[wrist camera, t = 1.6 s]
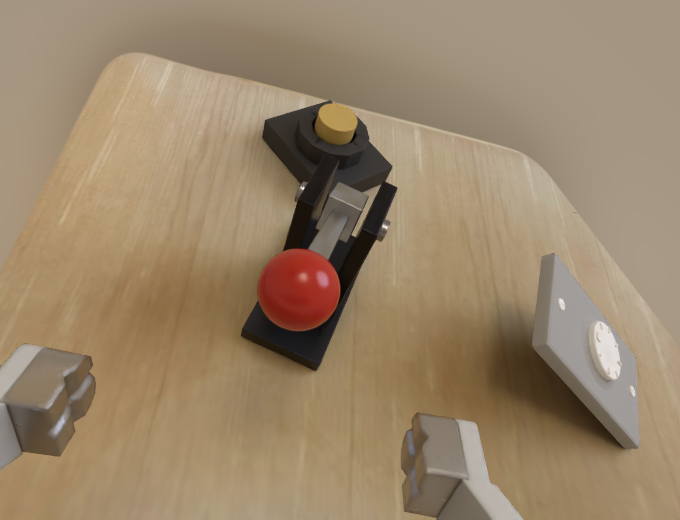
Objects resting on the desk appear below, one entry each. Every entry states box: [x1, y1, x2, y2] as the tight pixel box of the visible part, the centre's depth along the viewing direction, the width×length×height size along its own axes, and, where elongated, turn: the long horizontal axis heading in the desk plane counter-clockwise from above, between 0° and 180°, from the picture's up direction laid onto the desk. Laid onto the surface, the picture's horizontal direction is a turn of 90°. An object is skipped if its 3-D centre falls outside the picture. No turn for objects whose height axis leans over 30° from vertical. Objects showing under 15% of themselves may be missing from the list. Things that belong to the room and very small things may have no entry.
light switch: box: [532, 253, 639, 449], centre depth 37 cm, size 8×6×14 cm
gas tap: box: [241, 154, 397, 371], centre depth 32 cm, size 12×6×12 cm, turn 160°
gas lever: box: [257, 182, 369, 331], centre depth 25 cm, size 13×4×4 cm, turn 160°
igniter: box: [262, 101, 392, 209], centre depth 44 cm, size 10×8×4 cm
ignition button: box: [315, 104, 358, 145], centre depth 42 cm, size 4×4×2 cm
